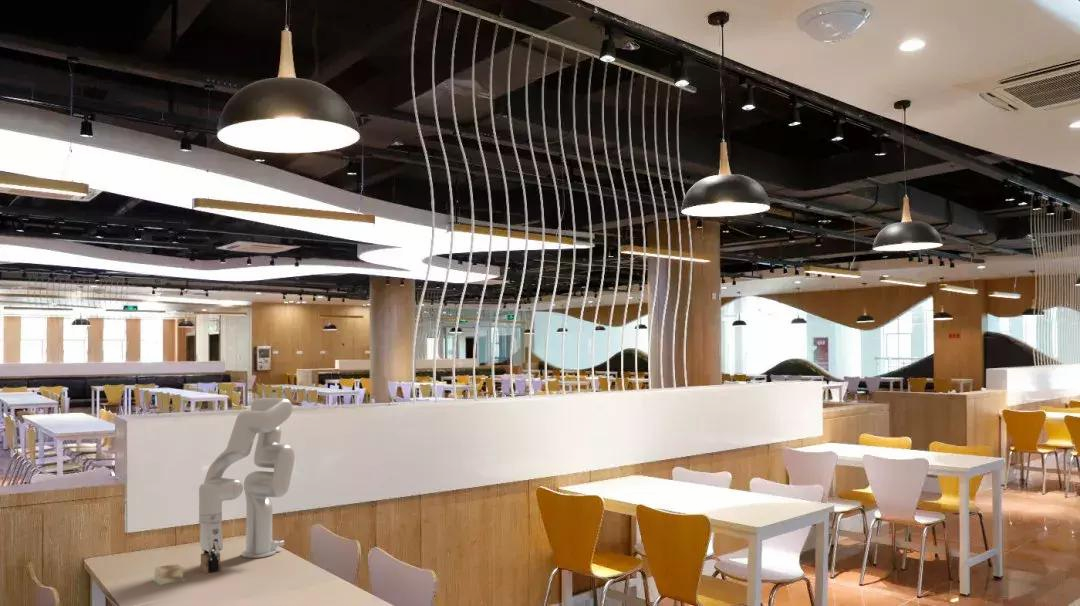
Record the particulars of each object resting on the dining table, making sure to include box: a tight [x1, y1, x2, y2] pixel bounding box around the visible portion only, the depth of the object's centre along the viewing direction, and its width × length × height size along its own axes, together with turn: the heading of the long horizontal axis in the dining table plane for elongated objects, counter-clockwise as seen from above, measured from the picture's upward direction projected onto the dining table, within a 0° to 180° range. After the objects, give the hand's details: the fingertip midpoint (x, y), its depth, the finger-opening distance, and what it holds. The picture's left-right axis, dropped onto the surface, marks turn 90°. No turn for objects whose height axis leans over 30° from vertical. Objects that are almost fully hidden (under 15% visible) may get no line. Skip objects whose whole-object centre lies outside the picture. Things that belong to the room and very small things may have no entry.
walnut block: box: [200, 552, 221, 574], centre depth 276 cm, size 5×5×6 cm
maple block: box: [154, 563, 184, 585], centre depth 266 cm, size 7×7×4 cm
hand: (210, 568), depth 276 cm, fingers closed on walnut block, 4 cm apart
